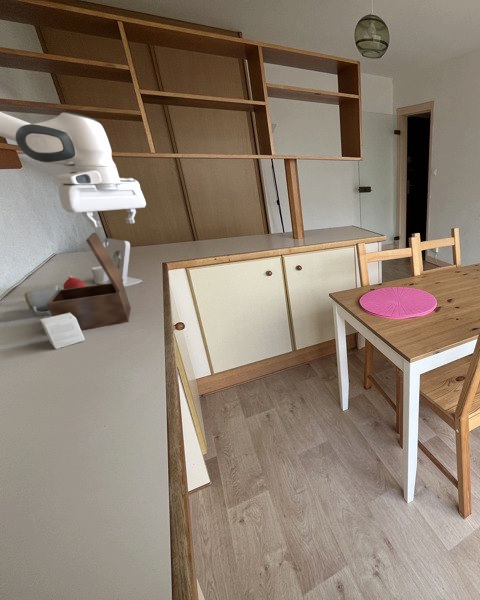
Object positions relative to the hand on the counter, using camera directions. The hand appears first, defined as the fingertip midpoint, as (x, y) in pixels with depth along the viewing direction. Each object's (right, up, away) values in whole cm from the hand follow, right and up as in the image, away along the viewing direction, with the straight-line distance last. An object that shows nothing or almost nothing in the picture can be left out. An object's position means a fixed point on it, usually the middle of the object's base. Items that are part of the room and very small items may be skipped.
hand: (114, 225), depth 96 cm
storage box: (-9, -30, +4) cm, 31 cm away
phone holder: (-34, -16, +39) cm, 54 cm away
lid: (-4, -11, +1) cm, 12 cm away
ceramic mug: (-31, -27, +10) cm, 42 cm away
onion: (-35, -22, +23) cm, 47 cm away
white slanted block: (-5, -35, -9) cm, 37 cm away
